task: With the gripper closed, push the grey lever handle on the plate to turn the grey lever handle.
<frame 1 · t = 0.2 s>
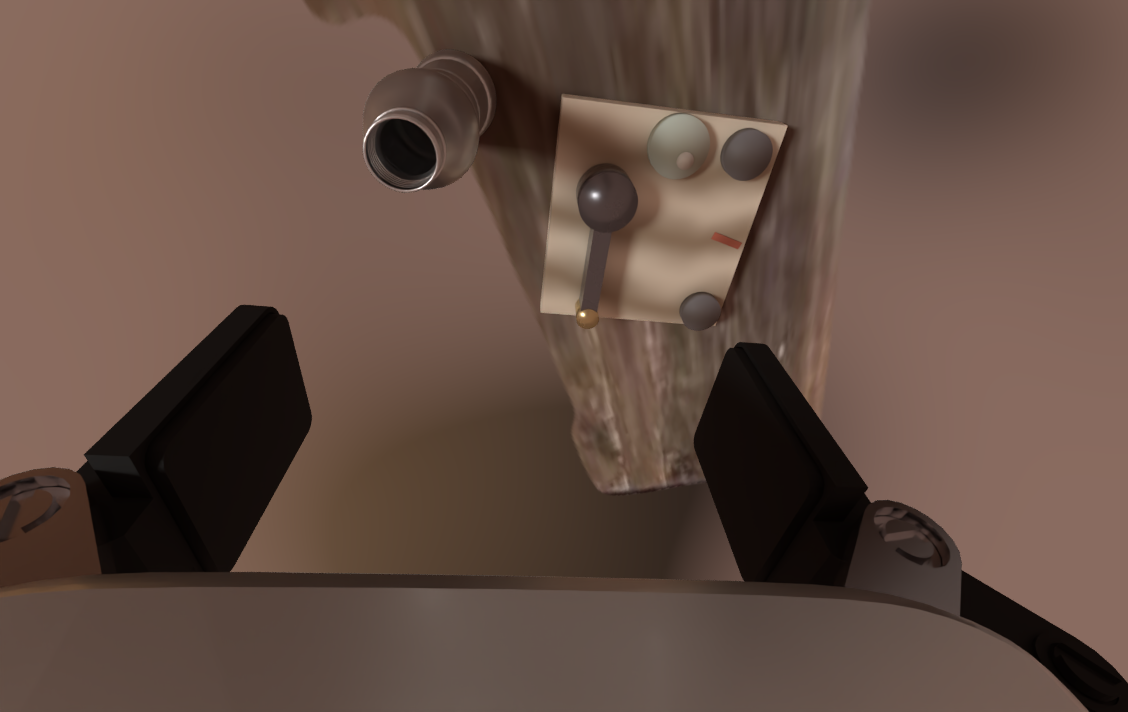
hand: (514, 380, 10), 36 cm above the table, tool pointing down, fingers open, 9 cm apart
plastic bottle: (458, 93, 39), on the table
grey lever handle: (596, 252, 44), point 4 cm above the table, hinge at 0.0°
plate: (646, 221, 46), on the table
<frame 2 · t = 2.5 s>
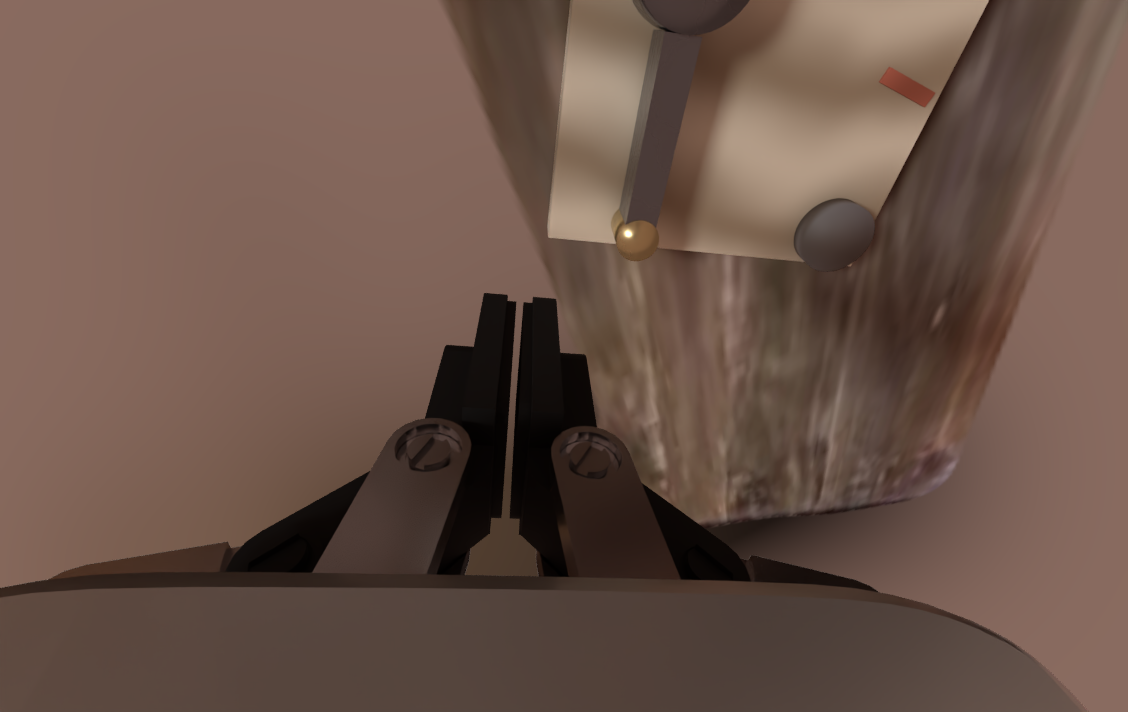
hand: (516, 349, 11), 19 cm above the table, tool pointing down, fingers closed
grey lever handle: (662, 99, 22), point 4 cm above the table, hinge at 0.0°
plate: (750, 54, 24), on the table
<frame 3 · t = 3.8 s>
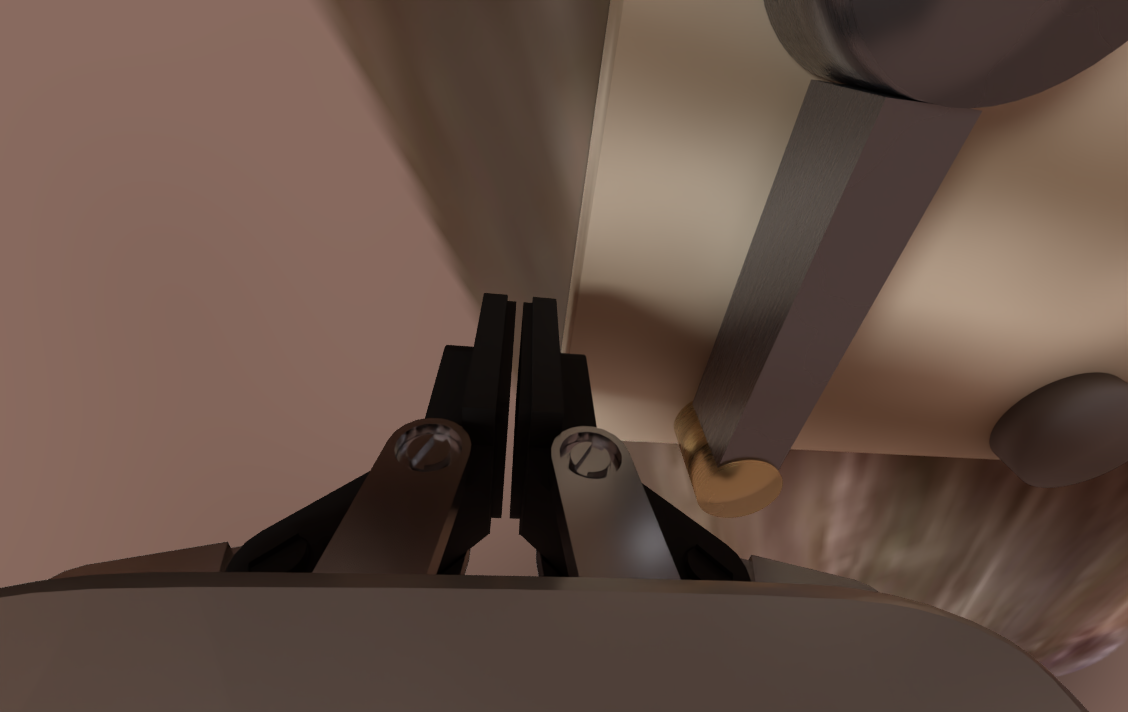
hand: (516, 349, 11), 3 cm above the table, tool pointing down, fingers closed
grey lever handle: (822, 235, 10), point 4 cm above the table, hinge at 0.0°
plate: (968, 120, 12), on the table
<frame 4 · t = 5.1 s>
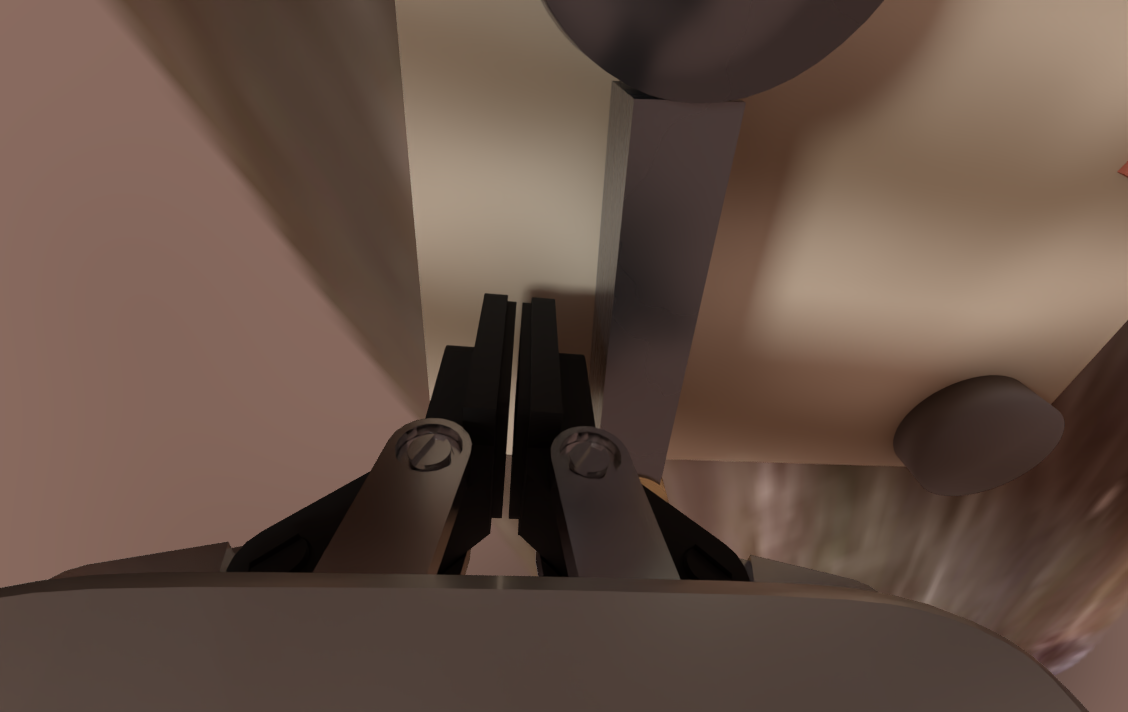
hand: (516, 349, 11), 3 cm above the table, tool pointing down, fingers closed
grey lever handle: (649, 241, 9), point 4 cm above the table, hinge at 3.8°, touching gripper
plate: (824, 115, 11), on the table
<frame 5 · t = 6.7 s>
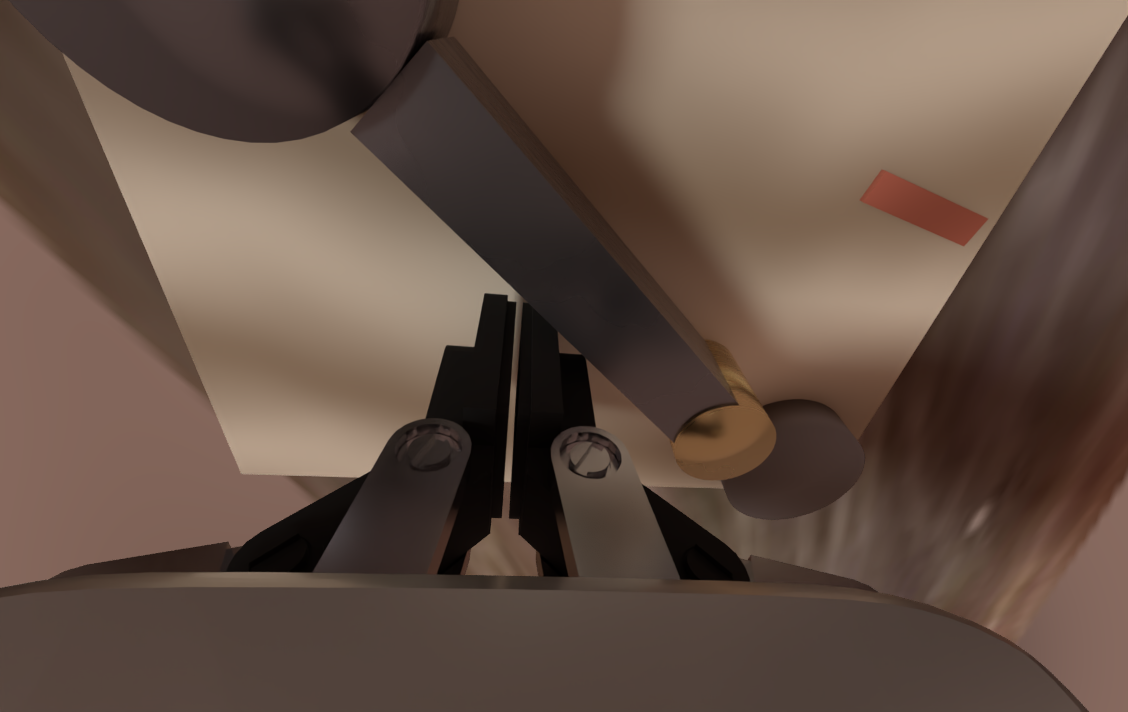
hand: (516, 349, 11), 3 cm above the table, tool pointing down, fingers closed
grey lever handle: (522, 205, 8), point 4 cm above the table, hinge at 46.3°, touching gripper
plate: (584, 139, 11), on the table
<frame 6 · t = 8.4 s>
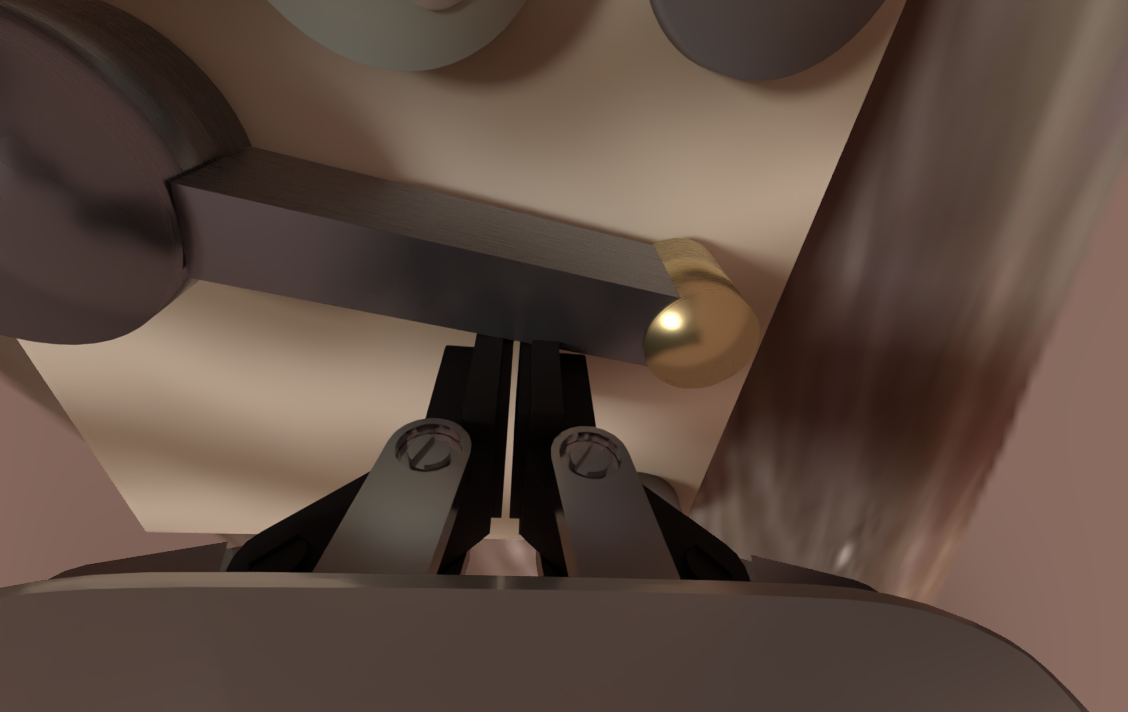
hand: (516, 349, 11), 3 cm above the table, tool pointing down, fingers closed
grey lever handle: (370, 240, 9), point 4 cm above the table, hinge at 81.2°, touching gripper
plate: (419, 263, 13), on the table
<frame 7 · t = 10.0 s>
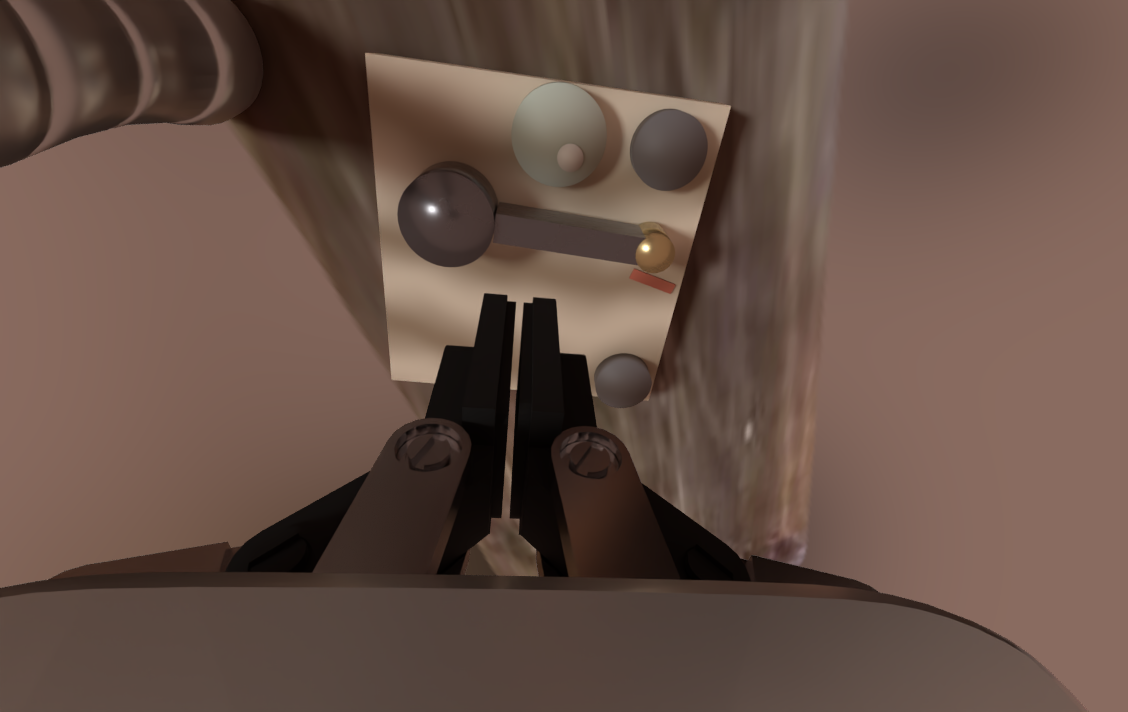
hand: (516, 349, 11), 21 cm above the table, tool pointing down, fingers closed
plastic bottle: (214, 51, 25), on the table
grey lever handle: (541, 229, 27), point 4 cm above the table, hinge at 87.2°
plate: (536, 251, 31), on the table
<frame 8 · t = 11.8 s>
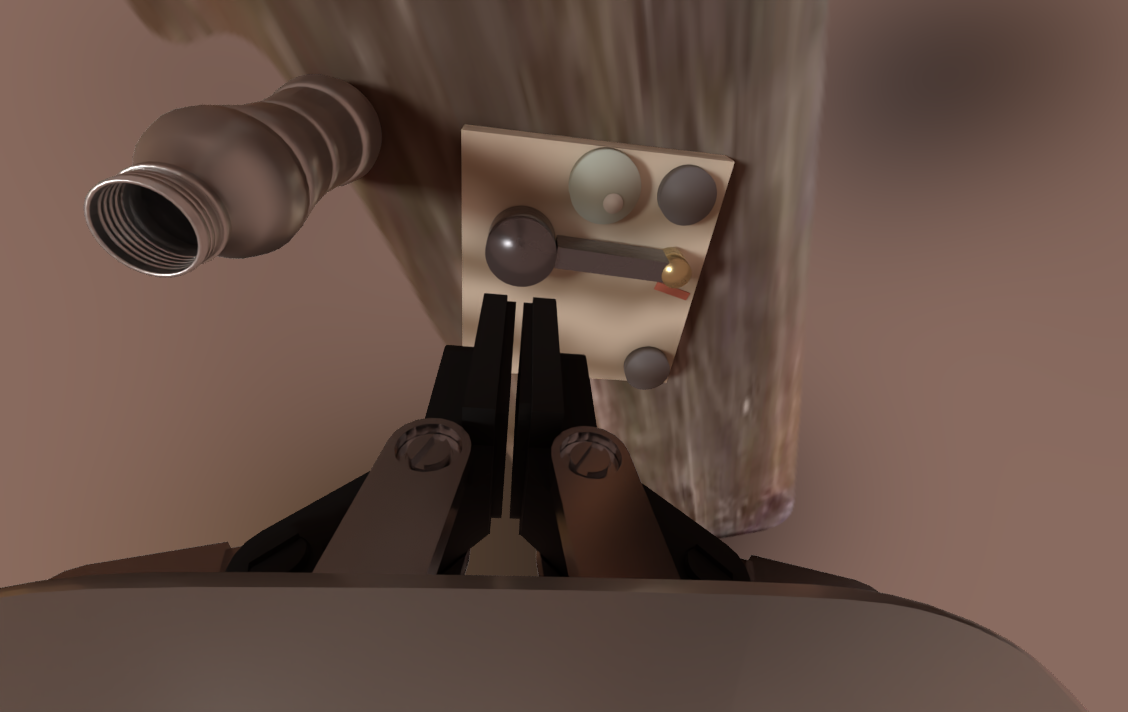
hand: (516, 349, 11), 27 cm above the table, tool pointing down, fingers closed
plastic bottle: (341, 124, 33), on the table
grey lever handle: (589, 255, 35), point 4 cm above the table, hinge at 87.2°
plate: (580, 268, 40), on the table
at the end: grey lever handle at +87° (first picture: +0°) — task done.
